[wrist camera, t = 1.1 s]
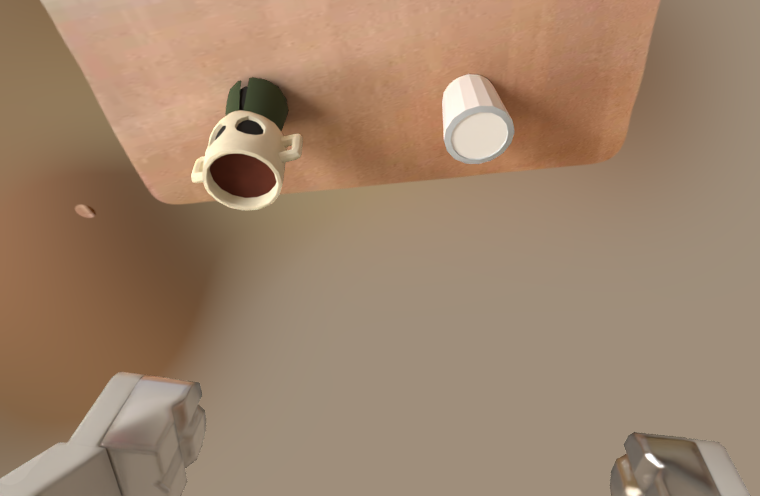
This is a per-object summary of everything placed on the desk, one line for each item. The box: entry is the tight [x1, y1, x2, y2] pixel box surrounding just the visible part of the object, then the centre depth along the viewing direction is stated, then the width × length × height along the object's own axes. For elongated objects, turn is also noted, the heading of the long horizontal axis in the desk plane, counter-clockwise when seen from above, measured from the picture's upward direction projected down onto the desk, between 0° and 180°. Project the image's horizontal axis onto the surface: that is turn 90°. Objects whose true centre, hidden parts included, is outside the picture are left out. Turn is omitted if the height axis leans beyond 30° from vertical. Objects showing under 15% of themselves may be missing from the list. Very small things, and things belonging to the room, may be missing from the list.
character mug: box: [191, 77, 303, 210], centre depth 52 cm, size 11×7×13 cm, turn 105°
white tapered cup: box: [442, 74, 514, 164], centre depth 55 cm, size 7×7×7 cm
